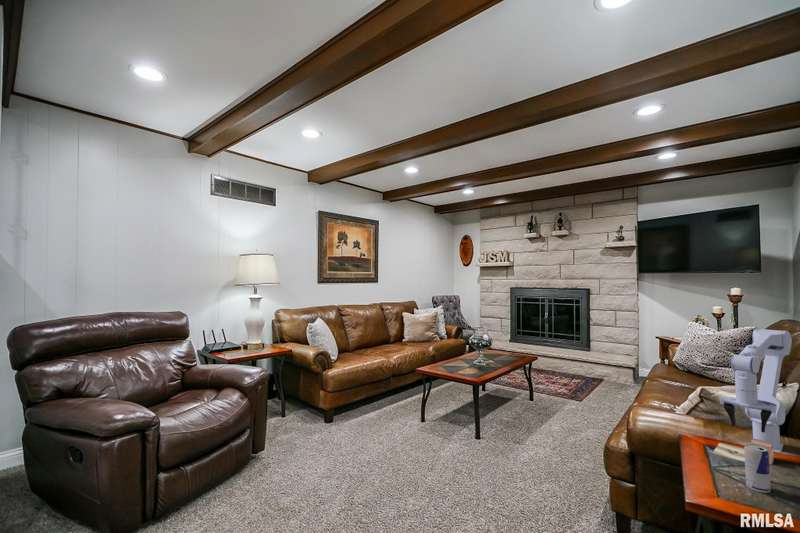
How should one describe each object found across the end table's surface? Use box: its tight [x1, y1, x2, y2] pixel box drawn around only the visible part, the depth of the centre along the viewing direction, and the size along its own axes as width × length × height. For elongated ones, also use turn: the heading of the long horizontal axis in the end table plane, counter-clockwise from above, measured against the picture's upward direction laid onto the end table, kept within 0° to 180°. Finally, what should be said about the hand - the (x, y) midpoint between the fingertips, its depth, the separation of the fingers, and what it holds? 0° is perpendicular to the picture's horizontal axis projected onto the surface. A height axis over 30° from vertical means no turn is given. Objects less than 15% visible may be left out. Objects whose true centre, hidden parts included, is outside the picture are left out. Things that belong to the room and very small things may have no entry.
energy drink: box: [743, 443, 772, 494], centre depth 113 cm, size 5×5×12 cm
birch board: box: [711, 442, 745, 463], centre depth 136 cm, size 13×9×1 cm
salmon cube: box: [750, 438, 774, 465], centre depth 130 cm, size 5×5×6 cm
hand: (748, 428), depth 134 cm, fingers open, 7 cm apart
